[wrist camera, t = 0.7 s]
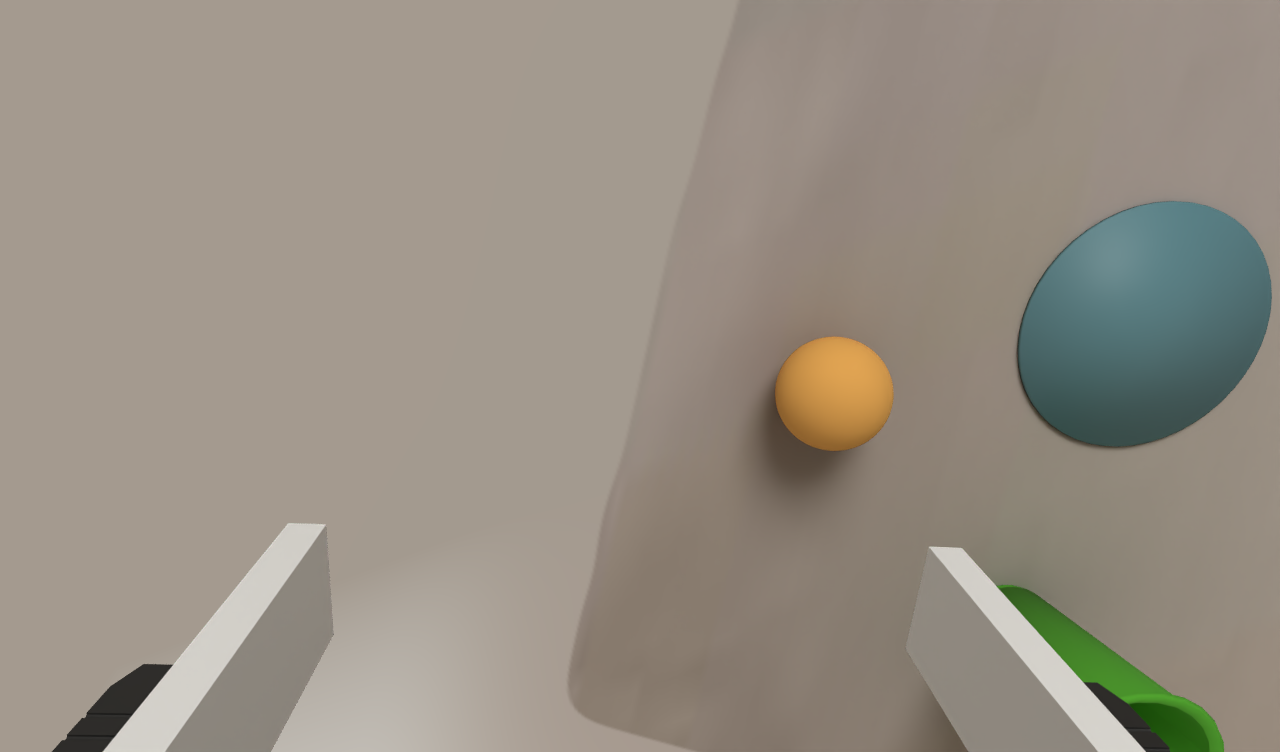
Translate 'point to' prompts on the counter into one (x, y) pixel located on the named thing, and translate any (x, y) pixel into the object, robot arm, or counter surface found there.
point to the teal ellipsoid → (1144, 323)
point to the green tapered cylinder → (1119, 677)
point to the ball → (834, 393)
